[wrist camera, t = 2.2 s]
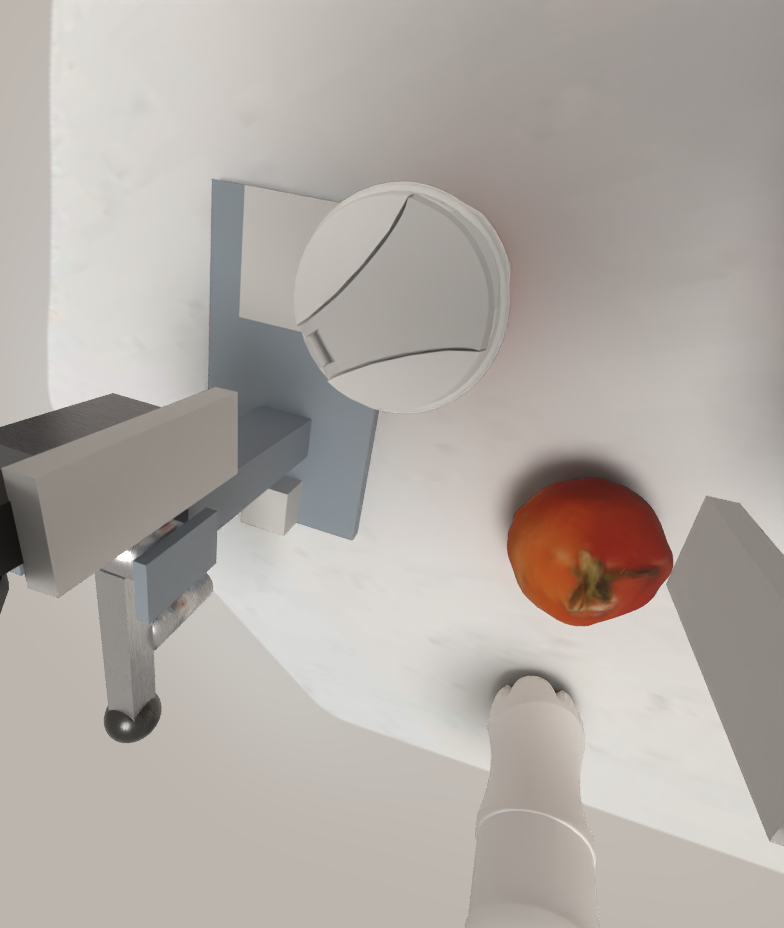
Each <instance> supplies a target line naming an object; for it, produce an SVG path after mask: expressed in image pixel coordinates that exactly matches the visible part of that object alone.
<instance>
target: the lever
mask: <svg viewBox="0 0 784 928" xmlns="http://www.w3.org/2000/svg"><path fill="white" fill-rule="evenodd" d="M159 408H161V407H159V406H155V405H152V404H148V403H145V402H141V401H138V400H134V399H131V398H128V397H124V396H121V395H117V394H114V393H112V394H109V395H105V396H102V397H99V398H95V399H92V400H89V401H85V402H82V403H79V404H75V405H72V406H69V407H65V408H62V409H59V410H55V411H52V412H49V413H45V414H42V415H39V416H35V417H32V418H29V419H25V420H22V421H19V422H16V423H13V424H9V425H6V426H2V427H0V470H2V469H1V468H3V467H6V466H8V465H11V464H14V463H16V462H19V461H22V460H24V459H27V458H29V457H32V456H35V455H37V454H40V453H43V452H45V451H48V450H51V449H53V448H56V447H58V446H61V445H64V444H66V443H69V442H72V441H74V440H77V439H80V438H82V437H85V436H87V435H90V434H93V433H95V432H98V431H101V430H103V429H106V428H109V427H111V426H114V425H117V424H119V423H122V422H124V421H127V420H130V419H132V418H135V417H138V416H140V415H143V414H146V413H148V412H151V411H153V410H156V409H159ZM183 524H184V523H183V522H180V521H177V520H174V519H171V520H170V521H169V522H167V523H166V524H164V525H163V526H161V527H160V528H159V529H157V530H156V531H154V532H153V533H151V534H150V535H148V536H147V537H146V538H144V539H143V540H141V541H140V542H138V543H137V544H136V545H134V546H133V547H131V548H130V549H128V550H127V551H125V552H124V553H123V554H121V555H120V556H118V557H117V558H115V559H114V560H113V561H111V562H110V563H108V564H107V565H105V566H104V567H102V568H101V569H100V570H98V571H97V572H95V579H96V589H97V599H98V609H99V619H100V629H101V639H102V647H103V658H104V668H105V678H106V688H107V698H108V707H107V709H106V712H105V716H104V726H105V729H106V732H107V733H108V735H109V736H110V737H111V738H112V739H114V740H116V741H118V742H122V743H132V742H136V741H139V740H141V739H143V738H144V737H146V736H147V735H148V734H150V733H151V731H152V730H153V729H154V728H155V727H156V725H157V723H158V721H159V719H160V715H161V702H160V699H159V697H158V695H157V694H156V693H155V671H154V650H156V649H157V648H158V647H159V646H160V645H161V644H162V643H163V642H164V641H165V640H166V639H167V638H168V637H169V636H170V635H171V634H172V633H173V632H174V631H175V630H176V629H177V628H178V627H179V626H180V625H181V624H182V623H183V622H184V621H185V620H186V619H187V618H188V617H189V616H190V615H191V614H192V613H193V612H194V611H195V610H196V609H197V608H198V607H199V606H200V605H201V604H202V603H203V602H204V601H205V600H206V599H207V598H208V597H209V596H210V595H211V593H212V591H213V583H212V581H211V579H210V577H209V575H208V574H207V573H205V574H204V575H203V576H201V577H200V578H199V579H198V580H197V581H196V582H195V583H194V584H193V585H192V586H191V587H189V588H188V589H187V590H186V591H185V592H184V593H183V594H182V595H181V596H180V597H179V598H178V599H176V600H175V601H174V602H173V603H172V604H171V605H170V606H169V607H168V608H167V609H166V610H164V611H163V612H162V613H161V614H160V615H159V616H158V617H157V618H156V619H155V620H154V621H153V622H151V623H150V624H149V625H148V624H145V623H143V622H140V621H137V620H136V608H135V592H134V575H133V560H134V559H136V558H137V557H139V556H140V555H141V554H143V553H144V552H145V551H147V550H148V549H150V548H151V547H152V546H154V545H155V544H156V543H158V542H159V541H161V540H162V539H163V538H165V537H166V536H167V535H169V534H170V533H172V532H173V531H174V530H176V529H177V528H178V527H180V526H181V525H183Z"/></svg>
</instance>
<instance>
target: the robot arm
mask: <svg viewBox="0 0 784 928" xmlns="http://www.w3.org/2000/svg"><path fill="white" fill-rule="evenodd" d="M1 469H2V470H0V613H1V610H2V607H3V604H4V602H5V599H6V596H7V593H8V590H9V582H8V578H7V574H6V573H8V572H9V571H11V570H13V569H15V568H16V567H18V566H20V565H21V564H23V568H24V573H25V577H26V582H27V586H28V588H30V589H33V590H36V591H39V592H41V593H44V594H47V595H50V596H53V597H56V598H59V597H61V596H62V595H64V594H65V593H66V592H68V591H69V590H71V589H72V588H74V587H75V586H77V585H78V584H79V583H81V582H82V581H84V580H85V579H87V578H88V577H89V576H91V575H92V574H94V573H95V572H97V571H98V570H100V569H101V568H102V567H104V566H105V565H107V564H108V563H110V562H111V561H113V560H114V559H115V558H117V557H118V556H120V555H121V554H123V553H124V552H125V551H127V550H128V549H130V548H131V547H133V546H134V545H136V544H137V543H138V542H140V541H141V540H143V539H144V538H146V537H147V536H148V535H150V534H151V533H153V532H154V531H156V530H157V529H159V528H160V527H161V526H163V525H164V524H166V523H167V522H169V521H170V520H171V519H173V518H174V517H176V516H177V515H179V514H180V513H182V512H183V511H184V510H186V509H187V508H189V507H190V506H192V505H193V504H194V503H196V502H197V501H199V500H200V499H202V498H203V497H205V496H206V495H207V494H209V493H210V492H212V491H213V490H215V489H216V488H218V487H219V486H220V485H222V484H223V483H225V482H226V481H228V480H229V479H230V478H232V477H233V476H235V475H236V474H238V392H236V391H231V390H227V389H222V388H218V387H214V388H211V389H209V390H206V391H204V392H201V393H198V394H196V395H193V396H190V397H188V398H185V399H182V400H180V401H177V402H175V403H172V404H169V405H167V406H164V407H161V408H159V409H156V410H153V411H151V412H148V413H146V414H143V415H140V416H138V417H135V418H132V419H130V420H127V421H124V422H122V423H119V424H117V425H114V426H111V427H109V428H106V429H103V430H101V431H98V432H95V433H93V434H90V435H87V436H85V437H82V438H80V439H77V440H74V441H72V442H69V443H66V444H64V445H61V446H58V447H56V448H53V449H51V450H48V451H45V452H43V453H40V454H37V455H35V456H32V457H29V458H27V459H24V460H22V461H19V462H16V463H14V464H11V465H8V466H6V467H3V468H1ZM666 585H667V587H668V590H669V592H670V595H671V597H672V600H673V602H674V605H675V607H676V610H677V612H678V615H679V617H680V620H681V622H682V625H683V627H684V630H685V632H686V635H687V637H688V640H689V642H690V645H691V647H692V650H693V652H694V655H695V657H696V660H697V662H698V665H699V667H700V670H701V672H702V675H703V677H704V680H705V682H706V685H707V687H708V690H709V692H710V695H711V697H712V699H713V702H714V704H715V707H716V709H717V712H718V714H719V717H720V719H721V722H722V724H723V727H724V729H725V732H726V734H727V737H728V739H729V742H730V744H731V747H732V749H733V752H734V754H735V757H736V759H737V762H738V764H739V767H740V769H741V772H742V774H743V777H744V779H745V782H746V784H747V787H748V789H749V792H750V794H751V797H752V799H753V802H754V804H755V807H756V809H757V812H758V814H759V817H760V819H761V822H762V824H763V827H764V829H765V832H766V834H767V836H768V839H769V841H770V842H773V843H776V844H779V845H782V846H784V555H783V554H782V553H781V552H780V550H779V549H778V548H777V547H776V546H775V544H774V543H773V542H772V541H771V540H770V539H769V537H768V536H767V535H766V534H765V533H764V531H763V530H762V529H761V528H760V527H759V526H758V524H757V523H756V522H755V521H754V520H753V518H752V517H751V516H750V515H749V514H748V513H747V511H746V510H745V509H744V508H743V507H742V505H741V504H740V503H736V502H732V501H727V500H723V499H718V498H714V497H709V496H706V497H705V500H704V502H703V504H702V506H701V508H700V511H699V513H698V515H697V517H696V519H695V522H694V524H693V526H692V528H691V530H690V533H689V535H688V537H687V539H686V542H685V544H684V546H683V548H682V550H681V553H680V555H679V557H678V559H677V561H676V564H675V566H674V568H673V570H672V572H671V575H670V577H669V579H668V581H667V583H666Z"/></svg>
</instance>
